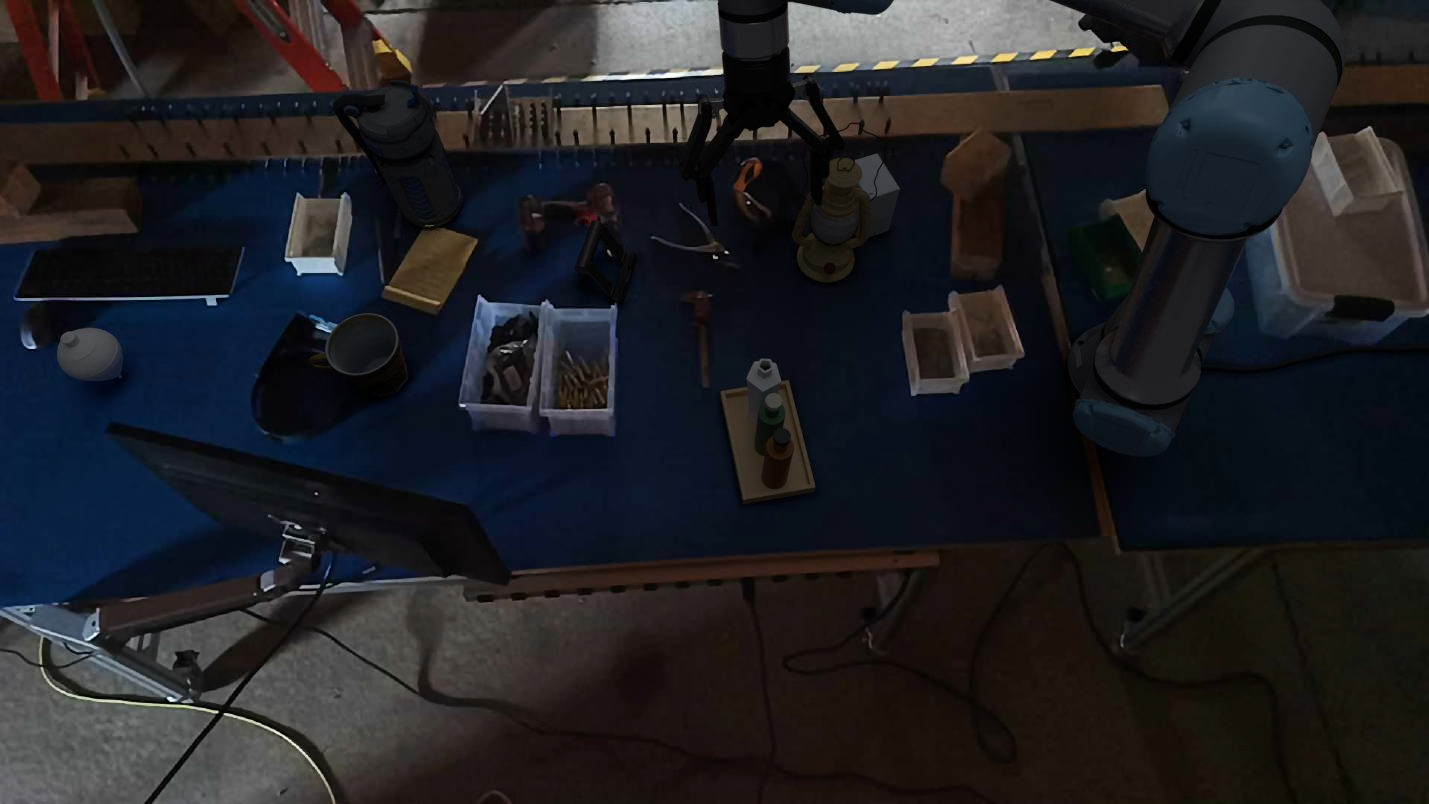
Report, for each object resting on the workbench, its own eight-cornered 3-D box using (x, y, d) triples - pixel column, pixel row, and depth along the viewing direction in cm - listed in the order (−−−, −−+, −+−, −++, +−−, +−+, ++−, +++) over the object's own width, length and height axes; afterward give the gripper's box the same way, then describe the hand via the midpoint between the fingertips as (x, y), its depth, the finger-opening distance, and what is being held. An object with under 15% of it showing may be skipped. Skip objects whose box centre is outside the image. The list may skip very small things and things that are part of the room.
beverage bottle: (389, 186, 144) (330, 68, 122) (469, 179, 145) (425, 61, 122) (386, 235, 140) (324, 122, 117) (468, 228, 140) (422, 115, 118)
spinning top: (90, 404, 126) (32, 365, 115) (98, 359, 129) (42, 317, 119) (144, 397, 127) (91, 357, 116) (151, 352, 130) (100, 309, 119)
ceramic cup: (415, 341, 131) (393, 305, 122) (424, 397, 127) (402, 365, 118) (328, 362, 129) (299, 327, 120) (334, 420, 125) (305, 388, 116)
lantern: (788, 285, 136) (808, 152, 109) (787, 234, 140) (806, 94, 113) (864, 287, 136) (903, 154, 109) (861, 236, 140) (897, 96, 113)
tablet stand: (622, 305, 134) (617, 274, 127) (574, 295, 135) (566, 264, 127) (636, 259, 138) (632, 226, 130) (589, 250, 139) (582, 217, 131)
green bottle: (776, 431, 124) (784, 385, 111) (781, 454, 123) (790, 410, 110) (752, 435, 124) (757, 390, 111) (757, 458, 122) (763, 415, 109)
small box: (888, 232, 141) (901, 189, 131) (857, 242, 140) (868, 200, 130) (867, 195, 144) (878, 151, 135) (836, 205, 143) (845, 161, 134)
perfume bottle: (782, 412, 126) (790, 363, 112) (762, 433, 124) (769, 385, 111) (758, 394, 127) (763, 343, 113) (738, 414, 125) (741, 365, 112)
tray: (787, 386, 128) (788, 379, 126) (814, 492, 121) (815, 487, 119) (720, 397, 127) (720, 390, 125) (742, 504, 120) (743, 499, 118)
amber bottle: (784, 463, 122) (793, 420, 109) (789, 487, 121) (799, 446, 108) (759, 467, 122) (765, 425, 109) (764, 491, 120) (771, 451, 107)
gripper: (853, 13, 98) (849, 175, 114) (639, 53, 96) (664, 212, 112) (875, 41, 93) (868, 206, 109) (649, 84, 91) (674, 246, 107)
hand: (765, 210), depth 110 cm, fingers open, 13 cm apart
